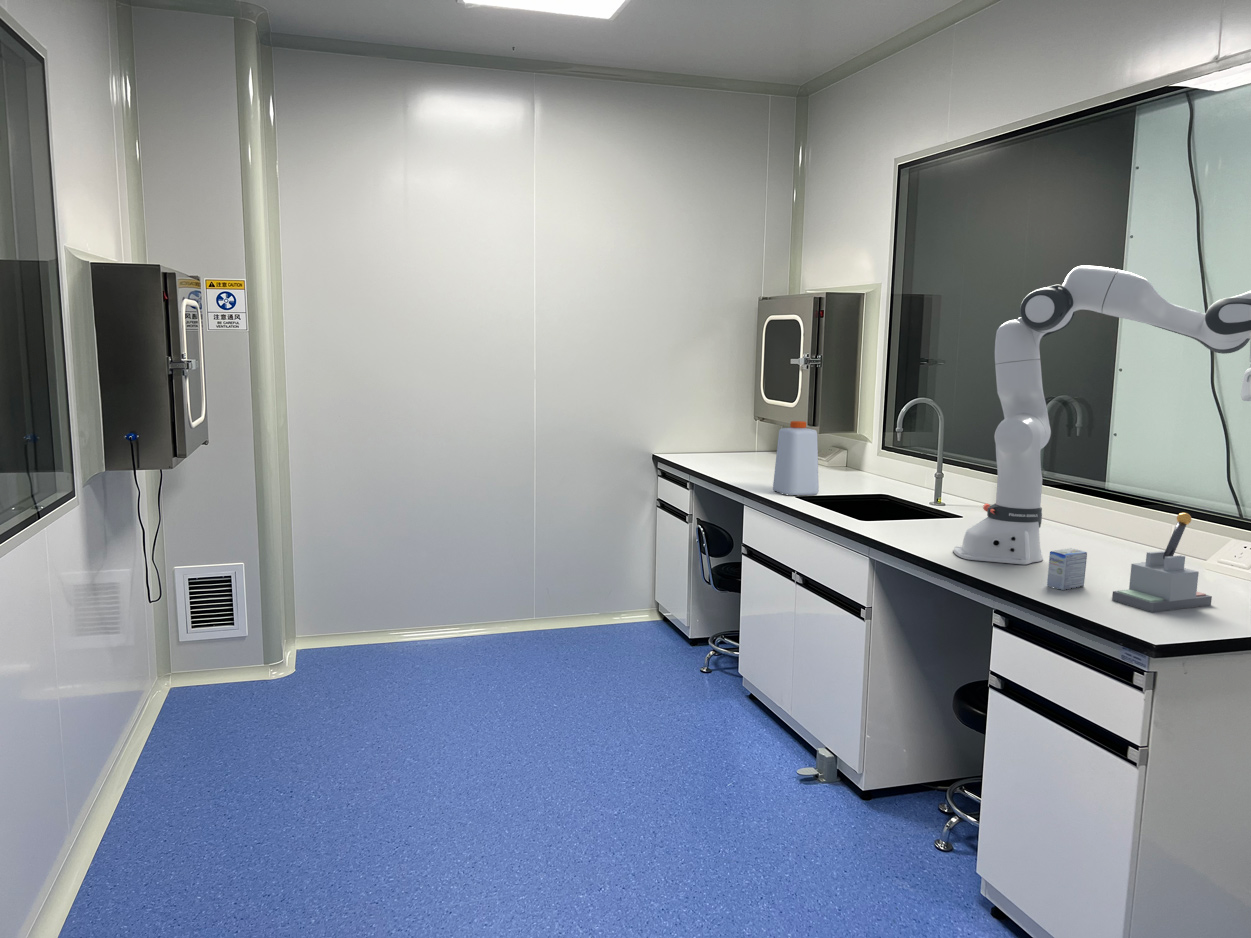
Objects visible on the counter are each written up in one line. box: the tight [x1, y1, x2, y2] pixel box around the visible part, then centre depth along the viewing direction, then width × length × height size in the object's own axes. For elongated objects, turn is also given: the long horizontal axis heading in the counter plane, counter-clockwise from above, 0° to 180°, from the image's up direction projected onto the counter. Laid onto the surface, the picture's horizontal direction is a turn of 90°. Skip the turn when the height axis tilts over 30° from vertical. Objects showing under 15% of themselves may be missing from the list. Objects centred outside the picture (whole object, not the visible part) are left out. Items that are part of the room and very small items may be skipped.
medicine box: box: [1046, 547, 1088, 591], centre depth 209 cm, size 8×4×9 cm, turn 118°
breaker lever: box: [1163, 512, 1192, 560], centre depth 196 cm, size 3×3×12 cm
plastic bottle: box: [772, 420, 820, 496], centre depth 341 cm, size 15×15×28 cm
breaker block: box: [1111, 550, 1213, 613], centre depth 196 cm, size 18×10×11 cm, turn 111°
